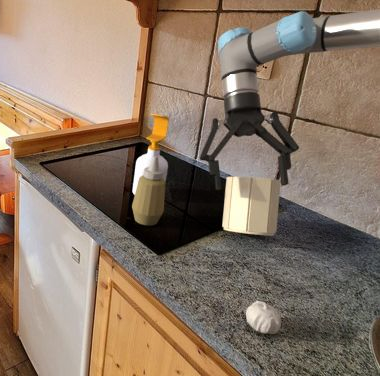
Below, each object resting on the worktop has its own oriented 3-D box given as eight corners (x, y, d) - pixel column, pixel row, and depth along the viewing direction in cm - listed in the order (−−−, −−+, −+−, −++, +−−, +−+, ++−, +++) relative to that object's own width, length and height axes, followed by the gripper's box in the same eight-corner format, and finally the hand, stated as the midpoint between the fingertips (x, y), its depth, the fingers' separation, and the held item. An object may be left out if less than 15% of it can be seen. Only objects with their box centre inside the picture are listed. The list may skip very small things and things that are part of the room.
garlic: (235, 319, 74) (241, 297, 72) (257, 312, 76) (264, 290, 74) (262, 343, 69) (270, 320, 67) (285, 335, 71) (293, 312, 69)
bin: (282, 237, 92) (287, 180, 92) (232, 232, 93) (237, 176, 93) (262, 232, 103) (267, 181, 103) (217, 227, 104) (222, 177, 104)
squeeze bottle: (137, 210, 112) (146, 148, 104) (166, 219, 107) (177, 155, 100) (125, 221, 106) (133, 157, 98) (154, 231, 101) (165, 165, 94)
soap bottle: (127, 195, 120) (137, 114, 110) (139, 185, 127) (150, 107, 116) (156, 203, 116) (169, 119, 105) (167, 192, 122) (180, 112, 112)
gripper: (295, 94, 94) (307, 184, 91) (183, 108, 100) (191, 192, 97) (307, 82, 87) (320, 180, 84) (185, 98, 93) (193, 189, 90)
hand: (251, 187), depth 91 cm, fingers open, 13 cm apart
